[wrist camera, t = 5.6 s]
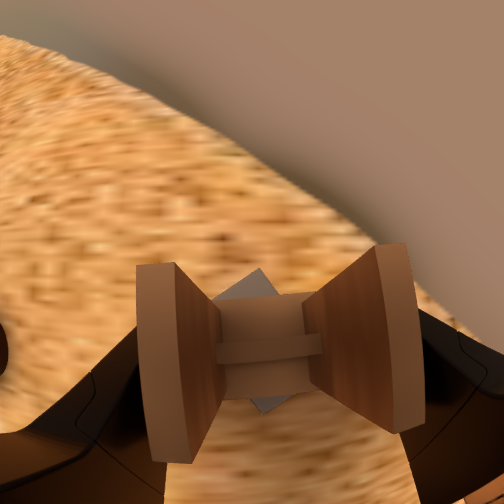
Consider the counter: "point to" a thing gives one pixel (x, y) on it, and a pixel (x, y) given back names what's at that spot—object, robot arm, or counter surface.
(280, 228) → the counter surface
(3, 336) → the coffee mug
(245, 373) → the stool
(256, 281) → the mat
